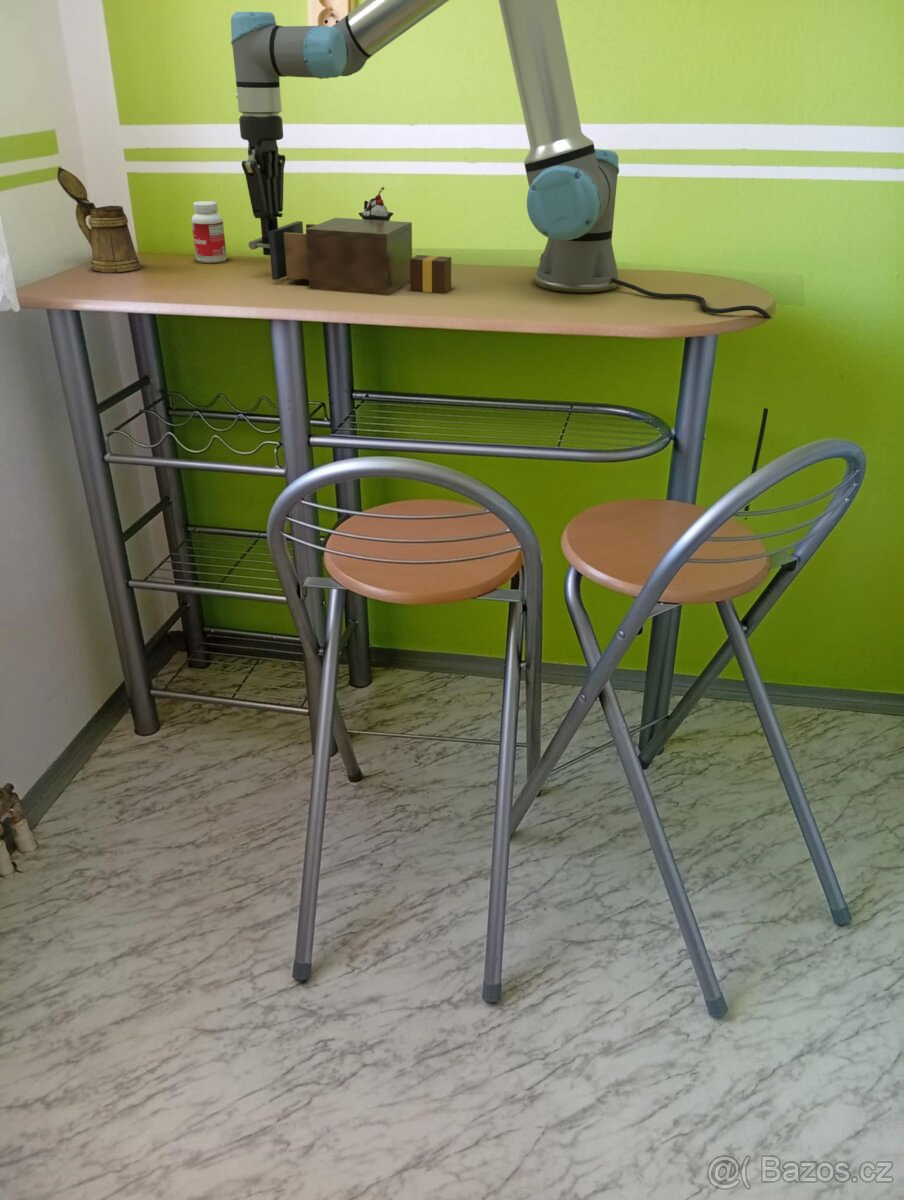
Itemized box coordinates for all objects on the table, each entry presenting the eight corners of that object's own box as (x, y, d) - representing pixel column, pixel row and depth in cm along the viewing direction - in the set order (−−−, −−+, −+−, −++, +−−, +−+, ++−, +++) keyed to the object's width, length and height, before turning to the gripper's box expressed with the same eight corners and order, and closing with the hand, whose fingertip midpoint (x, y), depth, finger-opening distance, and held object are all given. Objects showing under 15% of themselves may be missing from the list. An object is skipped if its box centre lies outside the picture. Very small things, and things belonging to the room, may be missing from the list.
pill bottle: (191, 260, 194) (183, 202, 188) (218, 256, 197) (212, 199, 192) (205, 264, 190) (197, 205, 184) (232, 261, 193) (226, 203, 188)
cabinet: (309, 288, 173) (305, 228, 167) (338, 274, 184) (335, 217, 178) (388, 295, 169) (386, 234, 164) (412, 279, 180) (411, 222, 175)
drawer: (244, 277, 176) (239, 229, 172) (273, 264, 186) (269, 219, 182) (343, 285, 171) (340, 236, 167) (367, 271, 181) (365, 225, 177)
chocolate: (451, 288, 174) (451, 256, 171) (444, 293, 170) (444, 261, 168) (417, 285, 175) (417, 254, 173) (410, 290, 172) (409, 258, 169)
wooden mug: (88, 261, 192) (71, 164, 183) (149, 265, 189) (134, 166, 180) (63, 270, 185) (43, 169, 175) (125, 274, 182) (108, 172, 173)
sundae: (393, 271, 186) (391, 188, 179) (359, 270, 186) (355, 188, 179) (395, 264, 192) (393, 184, 184) (362, 264, 192) (359, 183, 185)
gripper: (258, 111, 173) (269, 247, 185) (223, 116, 162) (237, 259, 174) (295, 113, 171) (304, 249, 183) (262, 117, 160) (274, 262, 172)
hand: (271, 254), depth 179 cm, fingers closed
